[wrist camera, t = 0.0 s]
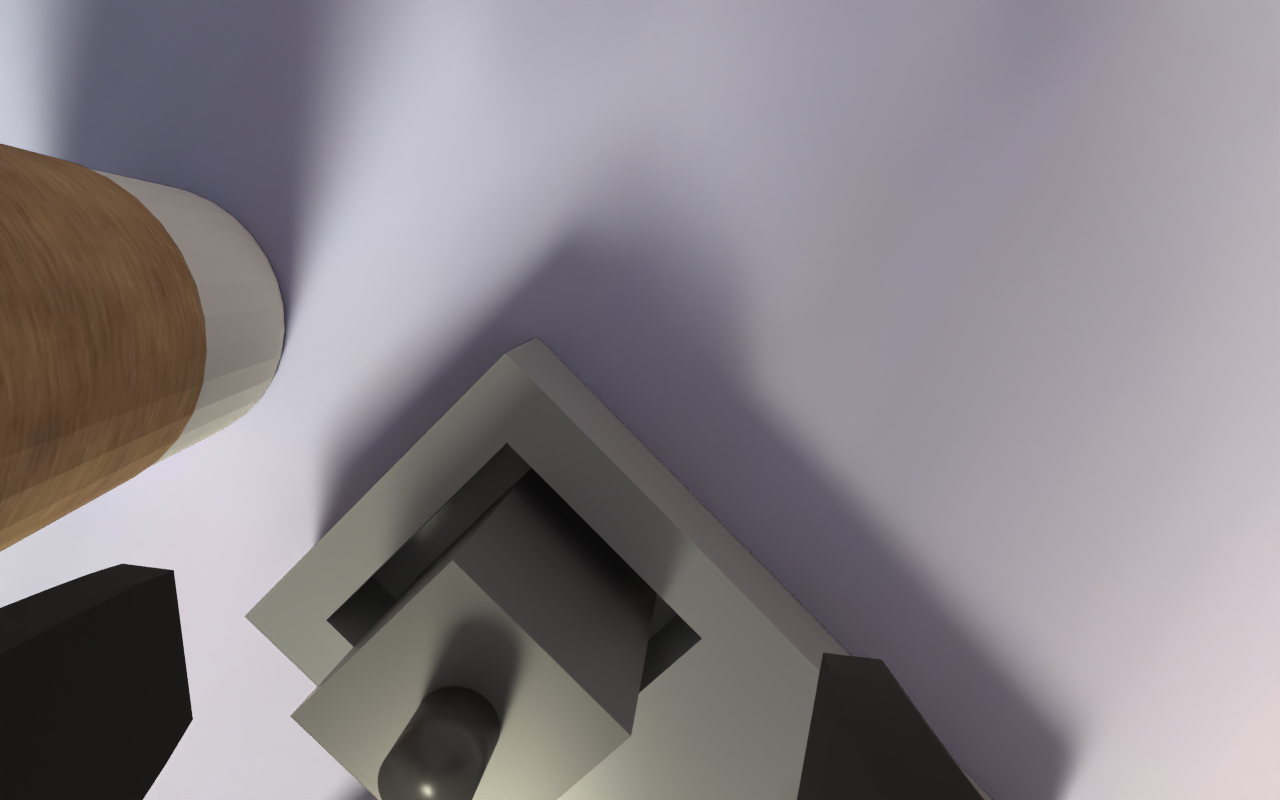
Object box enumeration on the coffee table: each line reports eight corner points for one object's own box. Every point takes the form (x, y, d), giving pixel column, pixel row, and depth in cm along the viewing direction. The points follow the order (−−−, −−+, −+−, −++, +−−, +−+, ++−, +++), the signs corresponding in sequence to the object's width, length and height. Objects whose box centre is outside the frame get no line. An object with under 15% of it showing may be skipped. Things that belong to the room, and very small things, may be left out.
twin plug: (536, 697, 20) (431, 956, 13) (416, 578, 20) (237, 774, 13) (657, 589, 20) (619, 799, 12) (533, 464, 19) (417, 601, 12)
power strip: (791, 1030, 22) (802, 1151, 19) (311, 564, 21) (244, 616, 18) (1040, 848, 20) (1094, 949, 18) (537, 336, 19) (504, 352, 16)
